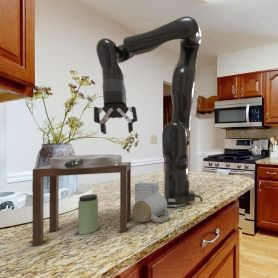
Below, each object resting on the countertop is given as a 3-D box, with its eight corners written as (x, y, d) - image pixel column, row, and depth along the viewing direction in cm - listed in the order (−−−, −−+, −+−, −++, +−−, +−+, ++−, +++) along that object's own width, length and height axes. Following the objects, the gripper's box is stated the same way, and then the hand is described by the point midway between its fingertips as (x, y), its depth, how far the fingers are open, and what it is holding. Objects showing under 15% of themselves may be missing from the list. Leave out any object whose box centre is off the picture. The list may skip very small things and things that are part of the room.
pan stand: (131, 216, 71) (132, 153, 71) (120, 248, 50) (120, 159, 50) (56, 225, 63) (56, 155, 63) (4, 269, 42) (5, 163, 42)
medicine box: (159, 202, 86) (159, 181, 86) (153, 205, 81) (153, 184, 81) (141, 201, 87) (141, 181, 87) (134, 205, 82) (134, 183, 82)
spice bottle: (99, 226, 62) (99, 193, 62) (95, 232, 58) (95, 197, 58) (81, 229, 60) (81, 195, 60) (75, 235, 56) (75, 199, 56)
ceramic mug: (130, 222, 65) (130, 198, 65) (149, 213, 73) (149, 191, 73) (159, 226, 62) (159, 201, 62) (175, 216, 70) (175, 194, 70)
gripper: (89, 89, 75) (92, 133, 75) (133, 90, 81) (137, 131, 80) (95, 94, 82) (98, 135, 82) (136, 95, 87) (139, 132, 87)
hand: (117, 133), depth 81 cm, fingers open, 8 cm apart
